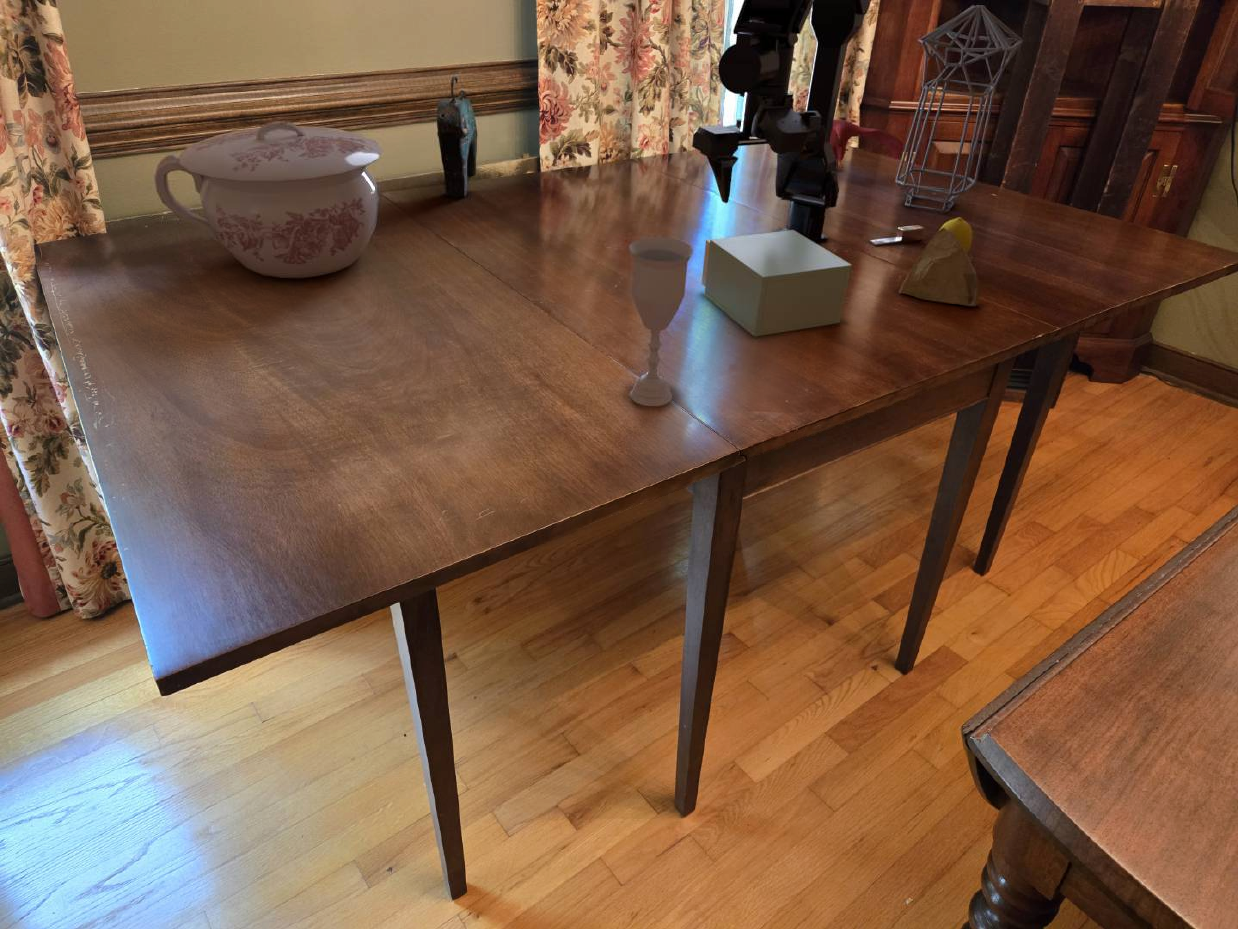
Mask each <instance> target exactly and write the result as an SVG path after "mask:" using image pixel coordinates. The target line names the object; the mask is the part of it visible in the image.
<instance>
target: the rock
mask: <svg viewBox="0 0 1238 929" xmlns="http://www.w3.org/2000/svg"><path fill="white" fill-rule="evenodd" d="M980 289H981V287H980V285H979V282H978V274H977V271H976V270H975V267H974V265H973V263H972V261H971V258H970V257H969V255H968V253H966V251H965V250H964V249H963V247H962V245H961V244H960V242H959V241H958V239H957V237H956V236H955V234H954V233H953V232H952V231H949V230H946V229H945V228H941V227H940V228H939V230H938V232H937V233H936V234H935V235H934V237H933V238H931V240H930V242H928V244H927V245H926V246H925V248H924V249H923V251H922V253H921V254H920V255H919V257H918V259H917V260H916V262H914V264H913V265H912V266H911V268H910V269H909V272H908V274H907V276H906V278H905V279H904V281H903V282H902V285H901V287H900V289H898V294H900V295H903V294H904V295H908V296H912V297H914V298H916V299H920V300H926V301H930V302H938V303H944V304H945V303H946V304H951V305H961V306H967V307H976V306H977V305H979V302H980Z"/></svg>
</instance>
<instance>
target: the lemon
mask: <svg viewBox="0 0 1238 929" xmlns="http://www.w3.org/2000/svg"><path fill="white" fill-rule="evenodd" d="M941 228H945V229H946V230H949V231H952V232H953V233H954V234H955V236H956V237H957V239H958V241H959V242H960V244H961V245H962V247H963V249H964V250H965V251H966V253H967V254H968V253H969V251H970V250H971V246H972V242H973V229H972V226H971V225H970V224H969V223H968V222H967V221H966V220H964V219H963V217H961V216H957V217H956V218H953V219H950V220H948V221H946V222H945V223H944V224H943V225H942V226H941V227H940V229H941Z"/></svg>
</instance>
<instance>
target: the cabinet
mask: <svg viewBox="0 0 1238 929" xmlns="http://www.w3.org/2000/svg"><path fill="white" fill-rule="evenodd" d="M709 240H710V246H709V256H708V265H707V275H706V284H705V286H704V297H706V298H707V299H708V300H709V301H710V302H711V303H713V304H714V305H715V306H716V307H717V308H719V309H720V310H721V311H722V312H724V314H726V315H727V316H729V318H731V319H732V320H733V321H734V322H735V323H737V324H738V325H739V326H741V327H742V328H743V329H744V330H745V331H746V332H748V333H749V334H750V335H751V336H752V337H754V338H756V337H761V336H762V337H763V336H769V335H774V334H781V333H786V332H791V331H798V330H806V329H811V328H816V327H824V326H830V325H836V324H840V323H841V318H842V314H843V310H844V305H845V300H846V296H847V291H848V286H849V281H850V276H851V272H852V267H853V264H851V263H850V262H847V261H846V260H844V259H843V258H841V257H840V256H838V255H836V254H835V253H832V252H831V251H829V250H828V249H826V248H824V247H823V246H821V245H819V244H818V243H816V242H815V241H814V242H813V241H811V240H809V239H808V238H806V237H804V236H803V235H801V234H799V233H798V232H796V231H794V230H789V231H780V232H778V231H772V232H765V233H755V234H747V235H737V236H730V237H729V236H728V237H721V238H713V239H709Z"/></svg>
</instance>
